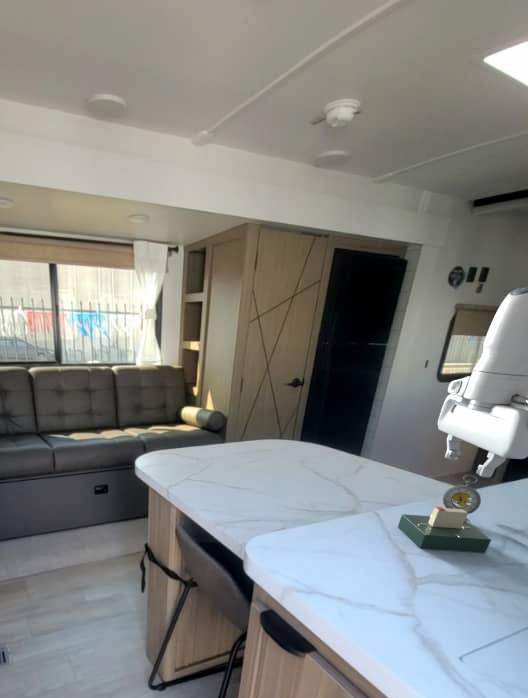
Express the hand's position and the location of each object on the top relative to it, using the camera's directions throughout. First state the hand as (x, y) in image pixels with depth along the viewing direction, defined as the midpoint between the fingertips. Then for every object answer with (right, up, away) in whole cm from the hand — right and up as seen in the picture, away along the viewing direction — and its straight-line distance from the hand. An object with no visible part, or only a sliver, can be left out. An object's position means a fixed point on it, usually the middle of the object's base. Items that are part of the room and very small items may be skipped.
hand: (466, 467), depth 75 cm
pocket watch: (+9, -10, +15) cm, 20 cm away
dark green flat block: (-1, -14, +6) cm, 15 cm away
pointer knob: (0, -11, +5) cm, 12 cm away
